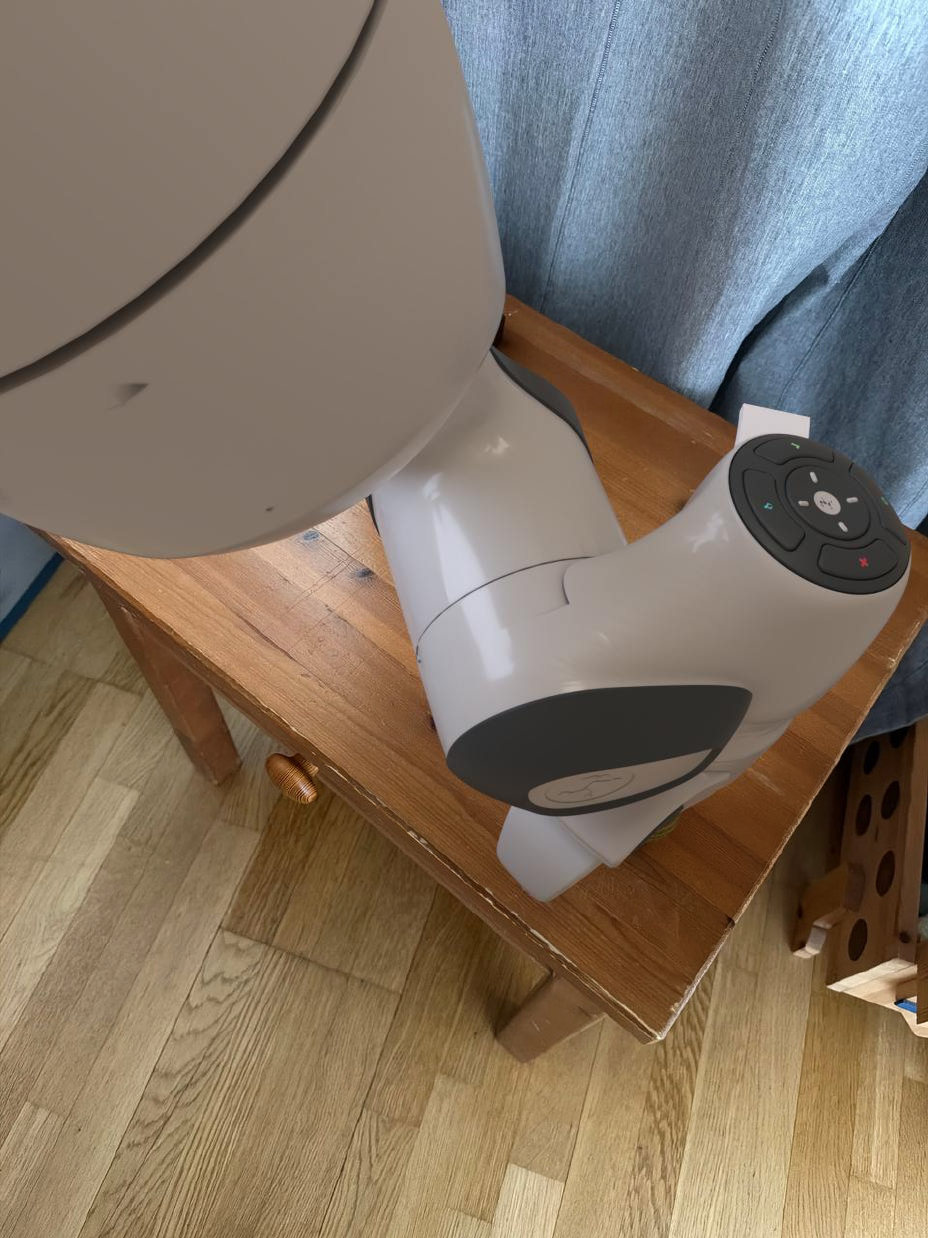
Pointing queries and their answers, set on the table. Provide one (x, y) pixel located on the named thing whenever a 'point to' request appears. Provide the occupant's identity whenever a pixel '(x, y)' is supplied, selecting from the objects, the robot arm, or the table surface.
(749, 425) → the headphone stand
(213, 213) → the robot arm
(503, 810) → the table surface
